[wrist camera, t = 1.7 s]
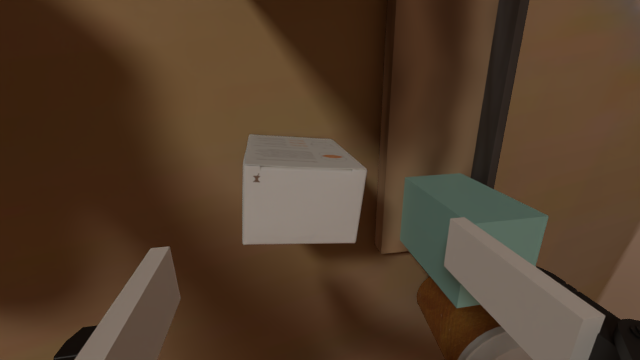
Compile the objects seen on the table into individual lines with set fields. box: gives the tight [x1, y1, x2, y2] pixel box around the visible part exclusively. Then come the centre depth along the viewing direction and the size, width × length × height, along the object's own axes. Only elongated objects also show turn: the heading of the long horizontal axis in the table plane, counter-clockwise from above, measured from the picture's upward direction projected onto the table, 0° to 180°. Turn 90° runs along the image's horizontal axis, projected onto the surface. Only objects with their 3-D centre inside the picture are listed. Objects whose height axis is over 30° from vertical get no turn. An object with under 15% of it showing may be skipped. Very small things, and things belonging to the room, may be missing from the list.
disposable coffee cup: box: [417, 277, 533, 360], centre depth 32 cm, size 10×10×12 cm
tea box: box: [400, 173, 548, 308], centre depth 26 cm, size 6×7×10 cm
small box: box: [242, 134, 367, 245], centre depth 24 cm, size 8×6×10 cm
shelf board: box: [375, 0, 529, 254], centre depth 28 cm, size 10×28×4 cm, turn 1°
